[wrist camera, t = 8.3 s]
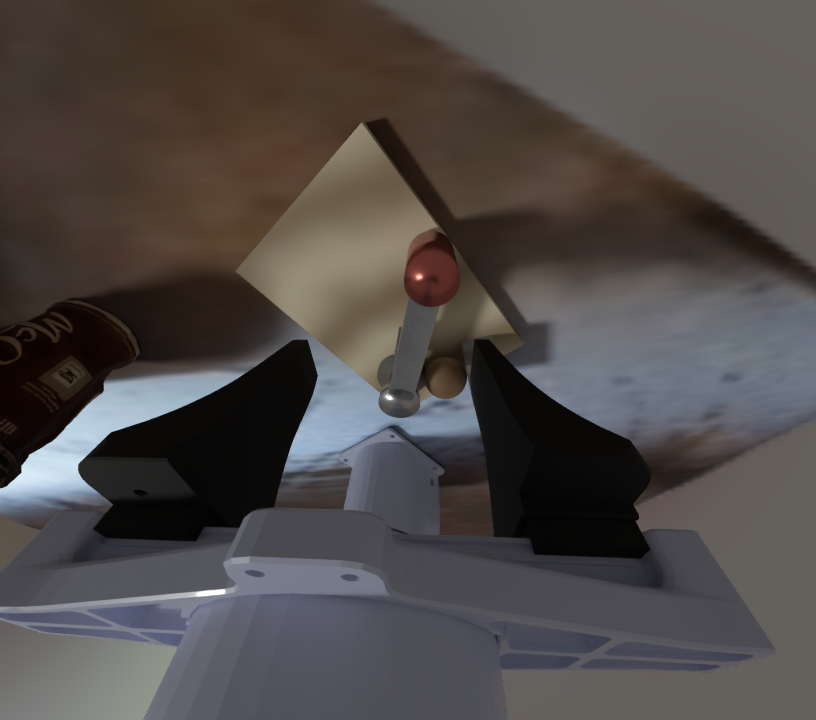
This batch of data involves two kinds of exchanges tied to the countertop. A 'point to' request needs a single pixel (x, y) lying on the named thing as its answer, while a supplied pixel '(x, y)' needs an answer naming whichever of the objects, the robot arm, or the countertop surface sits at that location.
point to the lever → (419, 318)
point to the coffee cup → (54, 374)
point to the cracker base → (369, 272)
